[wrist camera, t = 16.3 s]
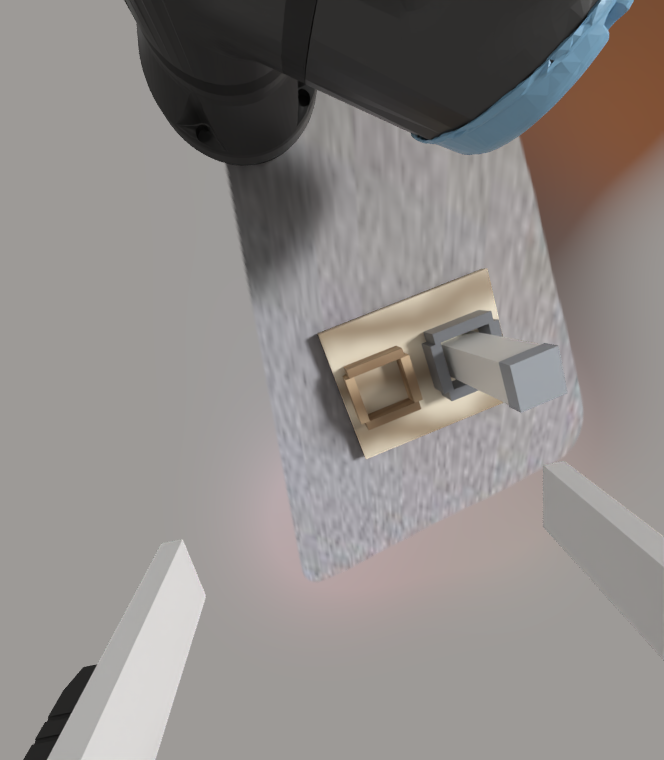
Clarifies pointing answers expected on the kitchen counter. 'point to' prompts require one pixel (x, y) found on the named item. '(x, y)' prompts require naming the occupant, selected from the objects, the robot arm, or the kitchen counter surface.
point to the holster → (392, 410)
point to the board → (406, 331)
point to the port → (436, 354)
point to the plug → (507, 368)
